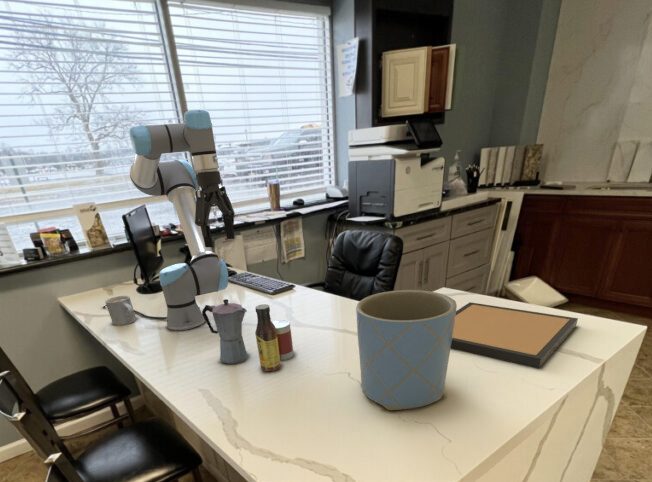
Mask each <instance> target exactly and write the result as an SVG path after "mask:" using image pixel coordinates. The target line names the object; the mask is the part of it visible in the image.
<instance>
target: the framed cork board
mask: <svg viewBox="0 0 652 482" xmlns="http://www.w3.org/2000/svg"><path fill="white" fill-rule="evenodd" d="M578 320H579V318H578V317H573V316H572V317H571V316H566V315H565V316H564V315H559V314H551V313H544V312H537V311H531V310H525V309H518V308H511V307H504V306H497V305H490V304H484V303H477V302H471V301H469V302H468V303H467V304H464V305H463V306H461V307H460V308H459V309H456V315H455V322H454V330H453V337H452V343H451V349H450V350H456V351H459V352H465V353H470V354H474V355H479V356H483V357H488V358H491V359H496V360H500V361H505V362H508V363H513V364H518V365H523V366H526V367H530V368H531V367H532V368H535V369H540V368H541V367H542V365H543V364H544V363H545V362H546V361H547V360H548V359H549V358H550V357H551V356H552V354H553V353H554V352H555V351H556V350H557V349H558V348H559V346H560V345H561V344H562V343H563V342H564V341H565V340H566V339H567V337H568V336H569V335H570V334H571V333H572V332H573V331H574V330H575V329H576V328H577V324H578Z"/></svg>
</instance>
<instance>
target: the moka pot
mask: <svg viewBox="0 0 652 482" xmlns="http://www.w3.org/2000/svg"><path fill="white" fill-rule="evenodd" d="M222 301H223V303H221V304H218V305H209V304H205V306H204V307H203V309H202V310H201V313H202V314H203V317H204V319H205V322H206V325H207V326H208V328H209V331H210V333H211V334H218V335H219V352H220V353H219V354H220V356H219V357H220V359H219V360H220V361H221V362H222V363H224V364H231V365H232V364H239V363H242V362H244V361H245V360H247V358H248V354H247V353H248V352H247V350H246V344H245V341H244V338H243V331H242V330H243V321H244V318H245V315H246V313H247V312H248V310H247V308H245V307H243V306H242V304H239V303H235V302H229V299H223V300H222ZM207 312H210V313H212V317H213V320H214V324H215V327H216V330H215V329H214V327H213V326H212V323H211V321H210V319H209V317H208V315H207Z"/></svg>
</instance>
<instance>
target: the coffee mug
mask: <svg viewBox="0 0 652 482" xmlns="http://www.w3.org/2000/svg"><path fill="white" fill-rule="evenodd" d="M105 305H107V307H106V308H107V311H108V314H109V317H110V319H111V322H112V325H114V326H125V325H129V324H131V323H134V322H136V320H137V316H136V312H134V310H135V309H134V307H133V303H132V301H131V297H130V295H117V296H113V297H110V298H107V299H105Z"/></svg>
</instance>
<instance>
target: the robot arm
mask: <svg viewBox="0 0 652 482" xmlns="http://www.w3.org/2000/svg"><path fill="white" fill-rule="evenodd" d="M183 118H184V119H183V120H184V122H180V123H178V122H177V123H166V124H148V125H144V124H142V125H141V124H140V125H137V126H131V127H130V128H129V138H130V143H131V145H132V146H131V147H132V149H133V152H134V154H135V157H134V162H133V163H132V164H131V165H130V168H129V178H130V180H131V183H132V184H133V186H134V187H135V188H136V189H138V191H139V192H141V193H143V194H145V195H148V196H152V197H161V196H166V198H167V201H168V202H169V203H172V204H173V206H174V210H175V213H176V215H177V218H178V221H179V223H180V227H181V230H182V232H183V235H184V239H185V241H186V245H187V247H188V249H189V253H190V256H191V260H190V261H189V264H190V265H189V264H188V263H186V262H180V263H174V264H172V265H169V266H166V267H164V268H163V269H161V270H160V271H159V273H158V278H159V283H160V286H161V289H162V294H163V297H164V301H165V304H166V305H165V306H166V309H167V310H166V311H167V312H166V316H150V315H146V314H144V313H142V312H139V311H138V310H135V309H133V310H134V313H135V314H138V315H141V316H142V317H144V318H147V319H153V320H154V319H155V320H166V325H167V328H168V329H169V330H170V331H178V332H179V331H186V330H192V329H196V328H198V327H200V326H202V325H204V323H205V322H206V320H205V319H204V317H203V314H202V310H201V307H200V306H199V304H197V300H196V297H199V296H203V295H208V294H211V293H218V292H220V291H224V290H226V289H227V288H228V286H229V272H228V266H227V263H226V261H225V260H224V259H220V257H219V255H218V254H217V253H215V252H213V249H212V248H214V242H213V236H212V232H211V227H210V224H209V220H210V219H209V218H210V214H211V209H212V207H213V206H214V205H216V206H217V208H218V210H219V211H220V213H221V214H222V216H223V217H224V218H223V225H224V229H225V235H226V239H227V240H234V239H235V231H234V225H233V219H235V214H236V213H235V210H234V208H233V206H232V203H231V201H230V199H229V196H228V193H227V189H226V186H224V185H223V186H220V185H221V184H222V176H221V172H220V171H219V167H220V166H219V162H218V161H219V159H218V155H217V147H216V143H215V136H214V132H213V131H214V130H213V123H212V119H211V116H210V113H209V111H208V110H206V109H193V110H187V111H185V112H184V113H183ZM186 152H189V153H191V159H192V165H193V167H192V165H191V163H189V162H188V161H187V160H186V159H174V160H168V161H167V160H166V161H161V157H162V155H164V154H173V153H186ZM198 187H200V188H201V190H200V189H199V190H198ZM104 305H105V306H107V305H106V304H104ZM104 305H103V307H102V308H103V309H105V308H106V307H105V306H104Z"/></svg>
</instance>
